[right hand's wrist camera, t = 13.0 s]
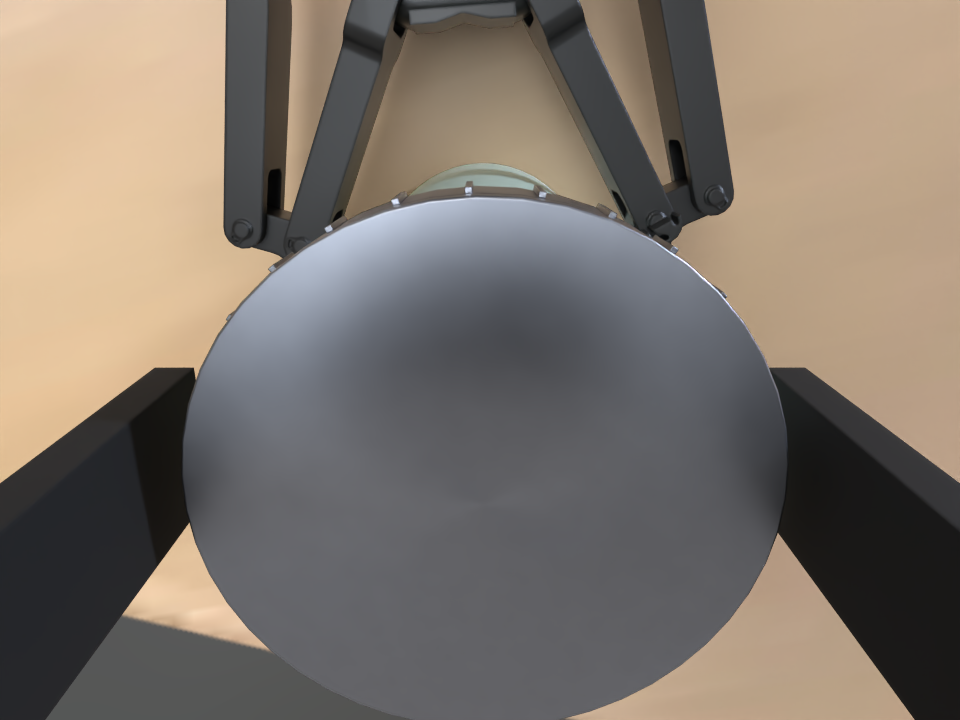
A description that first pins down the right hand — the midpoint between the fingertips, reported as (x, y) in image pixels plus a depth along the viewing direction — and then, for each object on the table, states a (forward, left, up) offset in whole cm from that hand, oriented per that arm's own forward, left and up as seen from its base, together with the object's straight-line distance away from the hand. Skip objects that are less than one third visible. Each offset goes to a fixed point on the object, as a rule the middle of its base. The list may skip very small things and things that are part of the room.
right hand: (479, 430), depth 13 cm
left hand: (-4, -1, -10) cm, 11 cm away
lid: (0, 0, +2) cm, 2 cm away
